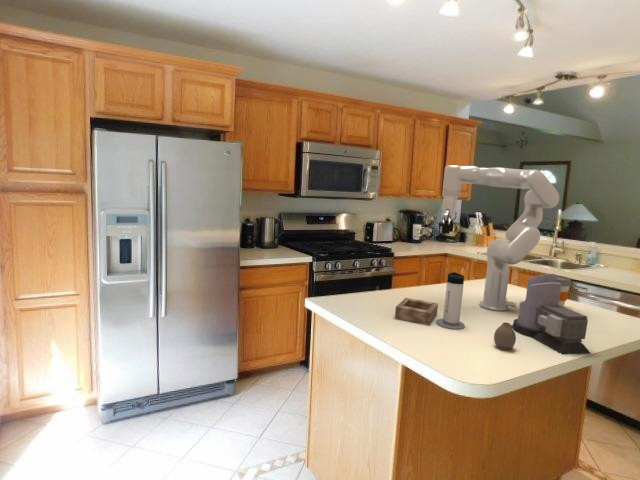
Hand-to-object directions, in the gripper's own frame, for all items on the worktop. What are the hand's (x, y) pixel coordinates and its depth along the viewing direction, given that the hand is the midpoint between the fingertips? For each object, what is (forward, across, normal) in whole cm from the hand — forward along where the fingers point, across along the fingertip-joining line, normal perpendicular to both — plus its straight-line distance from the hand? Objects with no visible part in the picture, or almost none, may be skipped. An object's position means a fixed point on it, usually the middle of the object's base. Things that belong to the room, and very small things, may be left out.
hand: (447, 232), depth 183 cm
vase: (+34, +37, +28) cm, 58 cm away
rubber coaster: (+34, +23, +8) cm, 42 cm away
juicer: (+35, +16, +42) cm, 57 cm away
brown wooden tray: (+34, +21, -6) cm, 41 cm away
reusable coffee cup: (+34, -32, +47) cm, 67 cm away
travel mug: (+34, +23, +8) cm, 42 cm away
